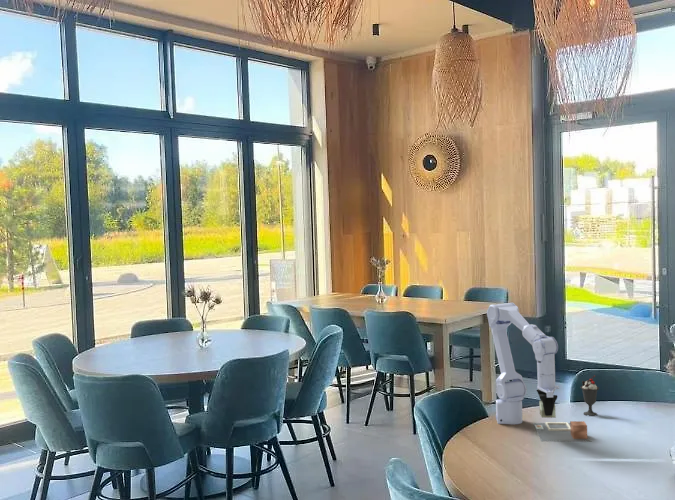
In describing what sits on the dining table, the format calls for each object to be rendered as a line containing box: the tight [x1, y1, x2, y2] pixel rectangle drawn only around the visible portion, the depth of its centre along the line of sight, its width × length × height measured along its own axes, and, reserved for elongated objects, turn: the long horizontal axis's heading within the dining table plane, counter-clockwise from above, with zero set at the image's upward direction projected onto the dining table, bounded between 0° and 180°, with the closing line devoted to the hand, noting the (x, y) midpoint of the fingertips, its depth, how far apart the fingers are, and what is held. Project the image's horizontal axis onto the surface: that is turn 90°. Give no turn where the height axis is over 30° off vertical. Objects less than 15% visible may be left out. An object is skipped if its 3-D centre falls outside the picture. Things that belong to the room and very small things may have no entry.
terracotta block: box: [569, 420, 588, 439], centre depth 220 cm, size 4×4×4 cm
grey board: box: [532, 421, 592, 443], centre depth 226 cm, size 16×20×1 cm
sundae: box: [580, 375, 600, 417], centre depth 247 cm, size 7×7×15 cm
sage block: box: [538, 400, 557, 419], centre depth 222 cm, size 4×4×4 cm
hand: (547, 413), depth 222 cm, fingers closed on sage block, 4 cm apart
